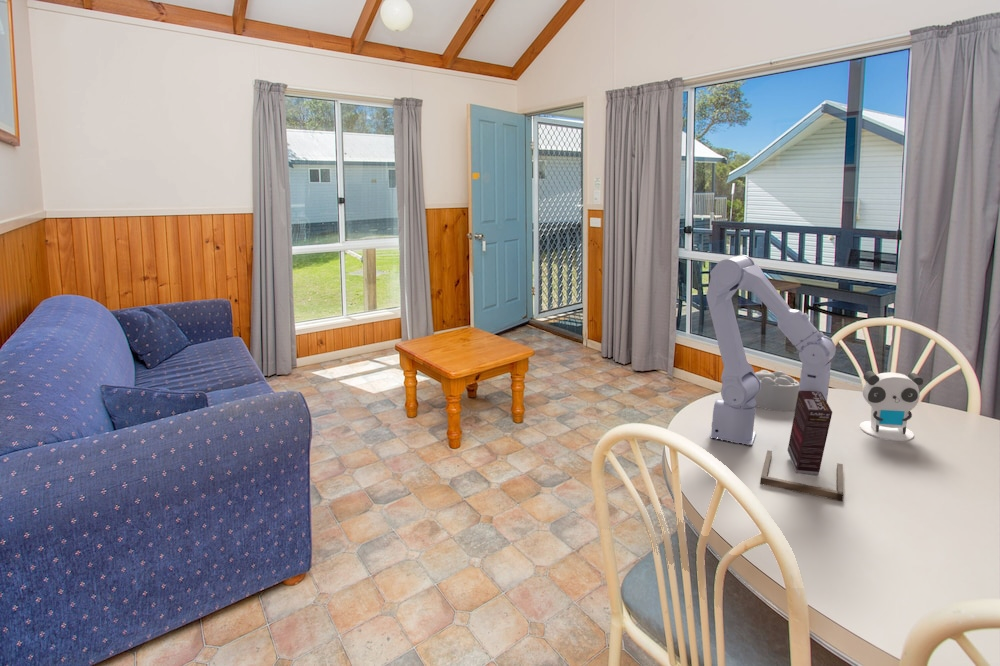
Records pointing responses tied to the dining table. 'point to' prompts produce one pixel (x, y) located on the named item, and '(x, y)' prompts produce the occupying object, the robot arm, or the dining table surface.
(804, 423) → the supplement box
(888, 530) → the dining table surface
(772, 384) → the lumpy-topped squat cylinder
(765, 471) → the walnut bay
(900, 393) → the panda figurine
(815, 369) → the robot arm
